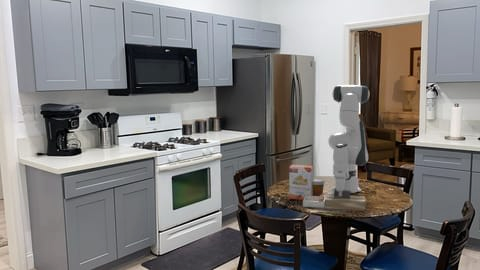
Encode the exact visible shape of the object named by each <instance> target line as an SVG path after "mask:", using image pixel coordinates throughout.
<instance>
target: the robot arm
mask: <svg viewBox="0 0 480 270" xmlns="http://www.w3.org/2000/svg"><path fill="white" fill-rule="evenodd" d="M370 94H371V93H370V90H369V88H368V86H366V85H357V84H356V85H355V84H351V85H350V84H344V85H341V84H337V85H335V86H334V88H333V89H332V94H331V96H332V98H333V101H335V102H337V103H338V104H340V105H339V123H340V125H342V126H343V127H344V128H345V132H336V133H333V134H331V135H329V138H328V145H329V147H330V148H331V149H332V150H333V154H332V161H333V163H332V175H333V178H334V186H333V187H332V188H331V190H333V188H336V191H338V192H339V196H342V191H343V190H348V191H351V193H357V192H362V189H361V188H360V187H359V178H358V177H357V169H356V166H358V167H359V166H360V167H362V166H364V165H366V164H367V163H368V161H369V153H368V148H367V147H368V146H367V138H366V130H365V124H364V122H363V120H361V117H360V114H359V113H360V105H362V104H365V103H366V102H368V100H369V98H370Z"/></svg>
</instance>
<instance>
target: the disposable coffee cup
mask: <svg viewBox="0 0 480 270" xmlns="http://www.w3.org/2000/svg"><path fill="white" fill-rule="evenodd" d="M324 184H325V180H324V178H320V177H319V178H316V177H315V178H314V181H312V186H313V196H320V195H321V194H323V193H324Z"/></svg>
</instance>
